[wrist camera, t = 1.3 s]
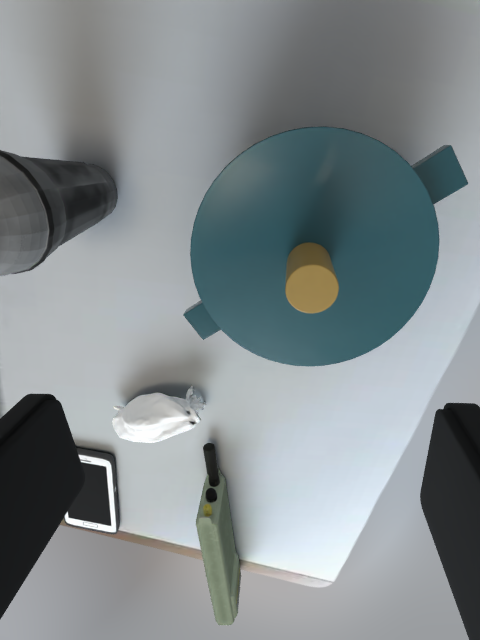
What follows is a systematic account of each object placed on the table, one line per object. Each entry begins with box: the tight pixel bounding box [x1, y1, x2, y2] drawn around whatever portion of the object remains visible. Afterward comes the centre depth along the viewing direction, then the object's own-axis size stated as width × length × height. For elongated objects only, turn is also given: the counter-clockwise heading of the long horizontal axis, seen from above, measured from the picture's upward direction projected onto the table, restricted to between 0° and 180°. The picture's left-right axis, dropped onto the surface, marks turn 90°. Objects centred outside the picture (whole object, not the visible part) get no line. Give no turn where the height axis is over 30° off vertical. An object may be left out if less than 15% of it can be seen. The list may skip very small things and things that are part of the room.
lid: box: [190, 127, 439, 366], centre depth 20 cm, size 15×15×6 cm
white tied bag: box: [112, 384, 206, 443], centre depth 38 cm, size 5×7×10 cm
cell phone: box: [64, 448, 119, 534], centre depth 48 cm, size 8×15×1 cm, turn 174°
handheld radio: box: [196, 443, 241, 625], centre depth 44 cm, size 7×3×25 cm
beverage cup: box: [0, 150, 117, 276], centre depth 22 cm, size 7×7×20 cm
